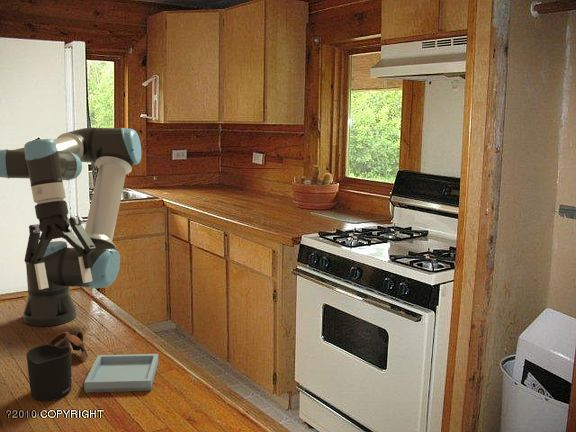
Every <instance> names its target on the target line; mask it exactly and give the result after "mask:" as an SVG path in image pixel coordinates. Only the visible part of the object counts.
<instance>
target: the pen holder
mask: <svg viewBox="0 0 576 432" xmlns="http://www.w3.org/2000/svg"><path fill="white" fill-rule="evenodd" d="M71 347H72V346H70V347H58V346H56V344H55V345H50V344H49V343H48V344H47V343H46V344H40V345H38V346H35V347H32V348H31V349H30V350H28V351H27V352H26V362H27V372H28V380H29V381H28V382H29V389H30V395H31V397H32V398H33V399H35V400H36V401H40V402H51V401H57V400H59V399H62V398H64V397H66V396H67V395H69V394H70V392H71V391H72V386H73V385H72V380H73V379H72V378H73V377H72V376H73V375H72V350H71V349H72V348H71Z"/></svg>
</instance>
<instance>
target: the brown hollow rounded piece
mask: <svg viewBox="0 0 576 432" xmlns="http://www.w3.org/2000/svg"><path fill="white" fill-rule="evenodd" d="M48 344H50V345H55V346H58V347H72V348H71V351H81V353H80V354H79V356H78V357H79V358H80V361H81V363H85V362H86V360H88V356H89V354H88V353H87V351H86V348H85V345H84V334H83V332H82V331H81V330H80V329H75V330H72V331H71V332H69V331H63V332H59V334H57V335H55V336H54V337H52V338H51V339H50V340H49V341H48Z"/></svg>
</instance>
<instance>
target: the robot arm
mask: <svg viewBox="0 0 576 432" xmlns="http://www.w3.org/2000/svg"><path fill="white" fill-rule="evenodd" d="M141 144H142V143H141V140H140V137H139V135H138V133H137V131H136V130H134V129H133V128H125V127H120V128H117V127H116V128H115V127H85V128H79V129H76V130H72V131H67V132H63V133H61V134H60V135H58V136H57V138H55V139H51V138H42V139H33V140H29V141H28V142H26V143H25V144H24V147H22V148H21V147H20V148H16V149H7V148H5V149H0V178H4V179H29V181H30V187H31V194H32V200H33V203H36V204H35V206H34V211H35V216H36V219H38V221H39V223H37V224H30V225H28V230H29V231H28V232H29V237H28V239H27V246H26V251H25V256H24V259H23V260H24V262H25V266H26V267H25V268H26V270H25V271H26V282H27V295H28V296H27V299H26V302H25V306H24V309H23V313H22V316H23V317H22V318H23V322H24V323H25V324H27V325H30V326H34V327H48V326H49V327H51V326H57V325H61V324H65V323H68V322H70V321H72V320H74V319H75V318H76V317H77V307H76V304H75V302H74V299H73V297H72V295H71V293H70V287H71V288H91V289H99V288H100V289H102V288H103V289H106V288H109V287H110V286H111V285H112V284H113V283H114V282H115V280H116V279H117V277H118V274H119V272H120V268H121V262H120V261H121V255H120V252H119V251H118V250H116V249H117V245H115V243H114V242H113V240H114V234H115V229H116V225H117V219H118V215H119V210H120V204H121V200H122V195H123V190H124V185H125V181H126V175H128V174H131V172H132V170H133V166H134V165H138V164H140V163H141V161H142V146H141ZM82 163H88V164H89V163H90V164H91V163H92V164H95V166H96V167H97V169H98V171H97V174H96V175H97V176H96V180H95V184H94V189H93V192H92V197H91V201H90V207H89V210H88V214H87V219H86V223H85V226H84V227H83V225H82V222H81V218H80V217H79V216H71V217H69V218H68V215H69V210H68V209H69V208H68V203H67V201H66V200H64V199H66V197H67V196H66V192H65V186H64V182H63V181H70V180H71V181H73V180H74V179H77V178H78V177H79V175H81V174H82V173H81V172H82V169H83V164H82ZM70 227H71V228H70ZM71 229H72V230H71ZM56 239H64V240H65V241H63V240H56ZM53 240H56V241H53ZM68 244H69V245H70V247H68Z"/></svg>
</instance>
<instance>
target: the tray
mask: <svg viewBox="0 0 576 432" xmlns="http://www.w3.org/2000/svg"><path fill="white" fill-rule="evenodd" d="M158 366H159V353H138V354H137V353H136V354H130V353H129V354H98V355H97V357H96V359H95V360H94V363H93V364H92V366H91V369H90V370H89V371H88V374H87V376H86V377H85V380H84V383H83V384H84V386H83V387H84V393H109V392H111V393H112V392H113V393H114V392H115V393H116V392H120V393H121V392H143V391H144V392H151V391H152V388H153V384H154V381H155V377H156V374H157V370H158Z"/></svg>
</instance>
